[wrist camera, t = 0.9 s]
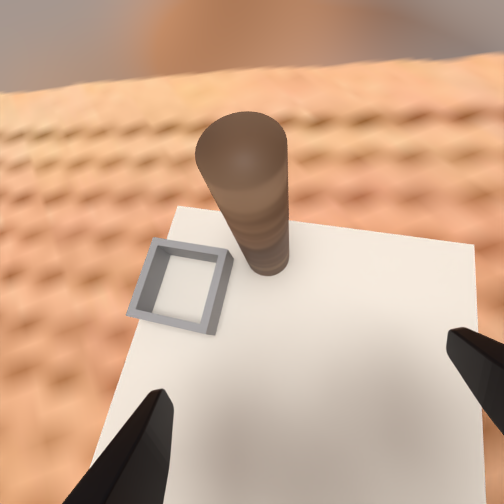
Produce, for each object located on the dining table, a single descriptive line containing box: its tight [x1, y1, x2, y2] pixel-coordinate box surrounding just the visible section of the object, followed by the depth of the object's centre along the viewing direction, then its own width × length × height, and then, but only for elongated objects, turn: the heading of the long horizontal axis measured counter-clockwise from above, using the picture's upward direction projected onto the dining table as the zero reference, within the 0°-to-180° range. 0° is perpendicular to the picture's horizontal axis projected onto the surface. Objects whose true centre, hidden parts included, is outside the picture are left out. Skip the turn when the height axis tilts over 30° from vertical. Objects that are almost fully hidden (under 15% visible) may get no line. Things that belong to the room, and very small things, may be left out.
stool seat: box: [89, 206, 486, 504], centre depth 19 cm, size 25×25×4 cm
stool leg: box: [195, 112, 289, 276], centre depth 16 cm, size 4×4×13 cm
